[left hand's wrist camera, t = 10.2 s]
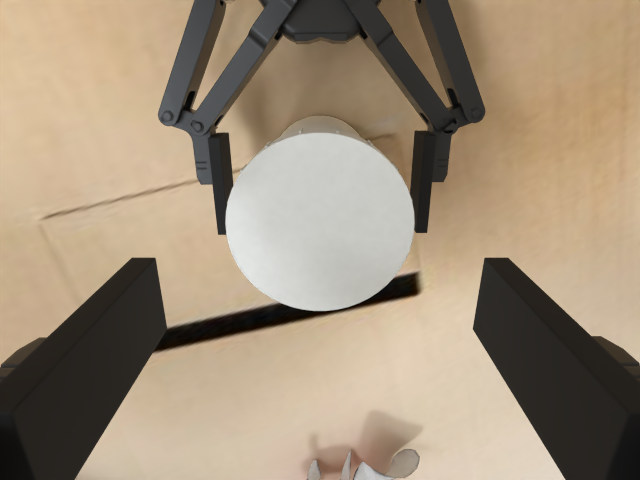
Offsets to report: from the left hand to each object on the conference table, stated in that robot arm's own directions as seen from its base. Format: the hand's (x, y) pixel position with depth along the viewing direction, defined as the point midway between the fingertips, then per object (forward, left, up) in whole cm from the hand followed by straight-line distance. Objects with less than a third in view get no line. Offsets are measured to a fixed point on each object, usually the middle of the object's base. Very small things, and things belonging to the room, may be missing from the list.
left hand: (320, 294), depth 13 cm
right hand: (-3, -1, -15) cm, 16 cm away
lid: (0, 0, -7) cm, 7 cm away
